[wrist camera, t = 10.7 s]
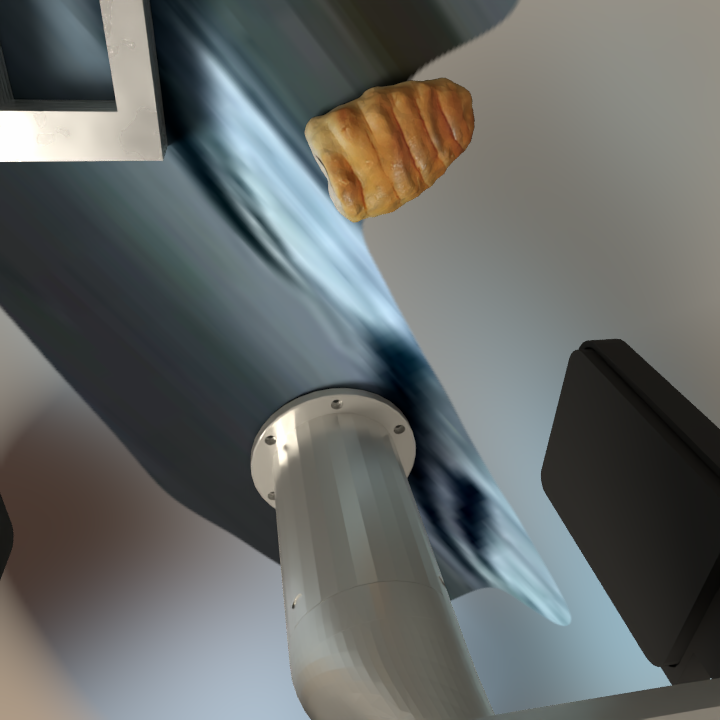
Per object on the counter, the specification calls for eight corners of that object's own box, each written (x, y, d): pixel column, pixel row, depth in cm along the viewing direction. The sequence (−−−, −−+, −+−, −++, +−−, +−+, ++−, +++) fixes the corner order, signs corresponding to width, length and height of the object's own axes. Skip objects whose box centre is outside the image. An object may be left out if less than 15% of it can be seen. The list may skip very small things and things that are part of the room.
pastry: (445, 41, 33) (468, 49, 30) (482, 153, 37) (506, 171, 34) (293, 123, 34) (300, 139, 31) (344, 224, 38) (355, 248, 35)
